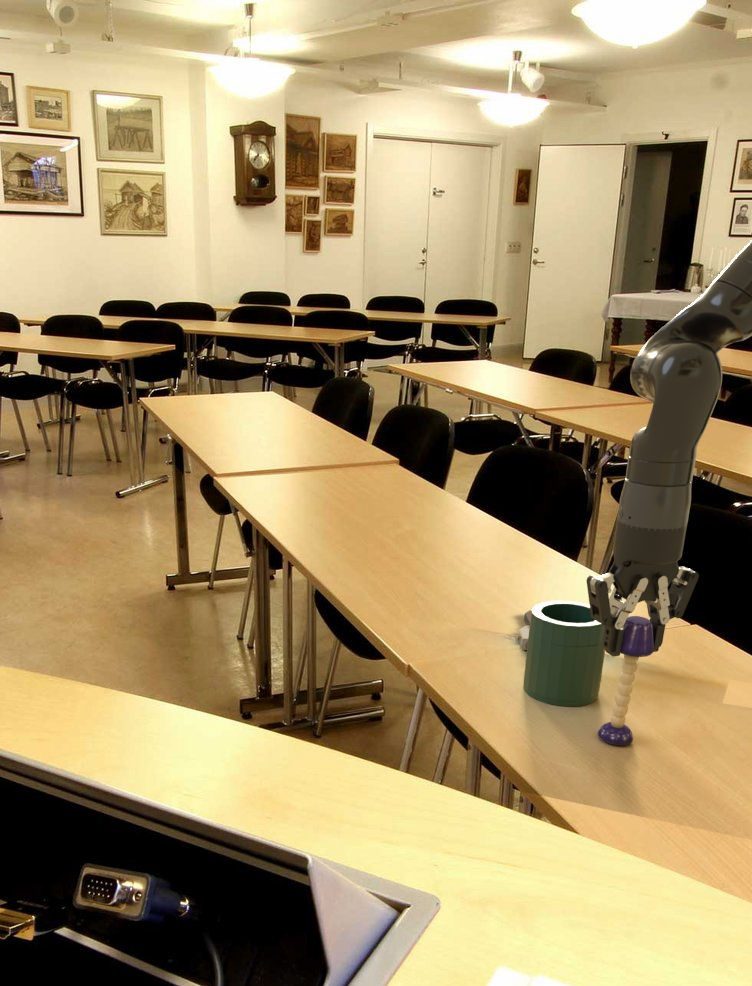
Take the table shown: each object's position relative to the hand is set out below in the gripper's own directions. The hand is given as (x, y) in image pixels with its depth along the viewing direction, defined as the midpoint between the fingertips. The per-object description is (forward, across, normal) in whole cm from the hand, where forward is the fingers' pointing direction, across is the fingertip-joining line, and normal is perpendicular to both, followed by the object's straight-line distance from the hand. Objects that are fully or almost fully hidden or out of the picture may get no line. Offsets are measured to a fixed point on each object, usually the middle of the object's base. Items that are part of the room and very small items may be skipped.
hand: (631, 651), depth 113 cm
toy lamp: (+13, 0, 0) cm, 13 cm away
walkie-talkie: (+12, +7, +30) cm, 33 cm away
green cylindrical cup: (+12, +1, +15) cm, 19 cm away
